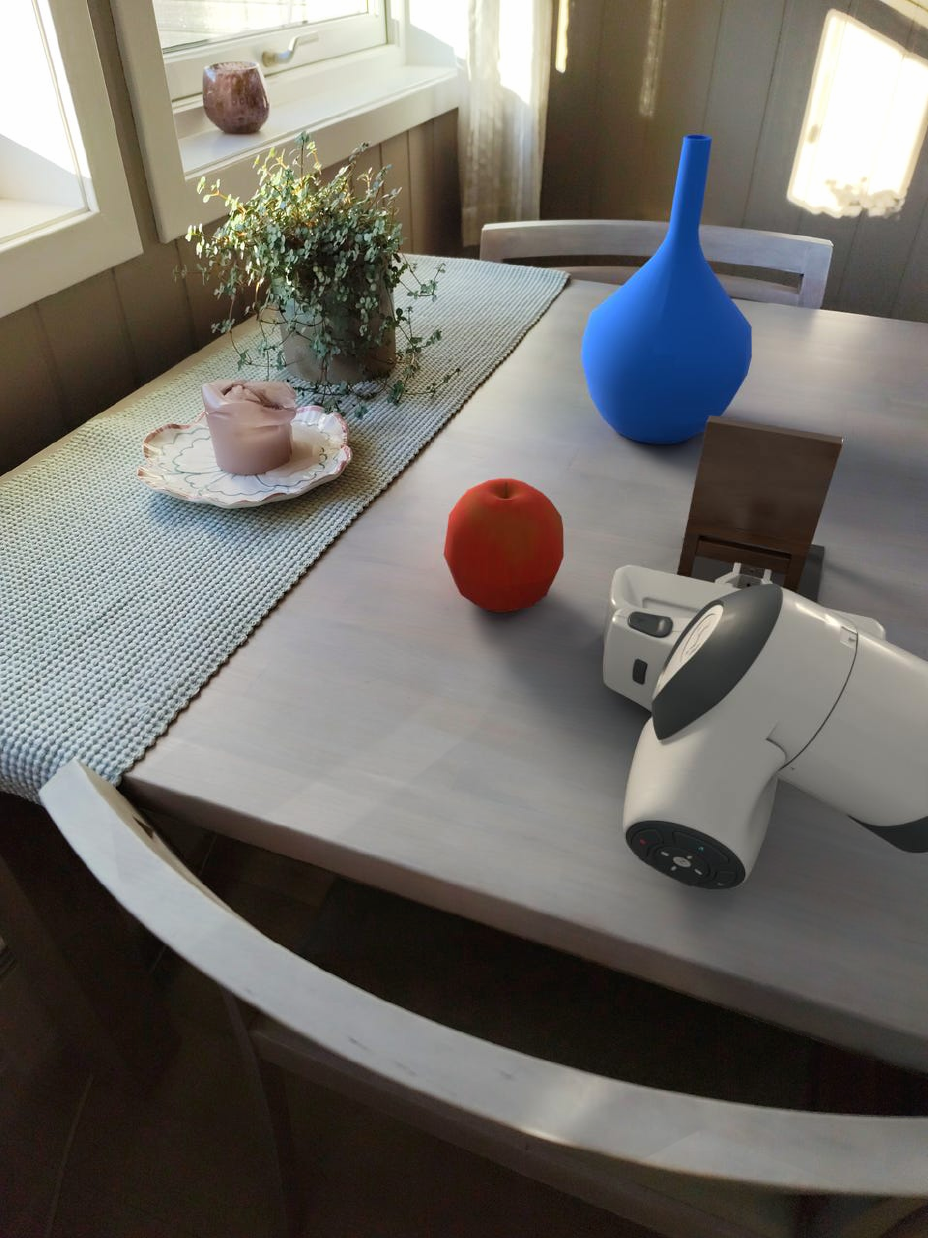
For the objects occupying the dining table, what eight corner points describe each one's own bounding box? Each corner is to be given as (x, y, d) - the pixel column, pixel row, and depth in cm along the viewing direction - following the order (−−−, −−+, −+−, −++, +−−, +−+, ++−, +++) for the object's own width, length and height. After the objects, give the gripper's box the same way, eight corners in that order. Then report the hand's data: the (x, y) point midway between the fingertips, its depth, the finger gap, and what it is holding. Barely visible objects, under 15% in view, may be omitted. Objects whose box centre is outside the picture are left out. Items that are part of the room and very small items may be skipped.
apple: (579, 616, 74) (592, 501, 67) (469, 644, 71) (470, 527, 64) (531, 552, 81) (537, 442, 74) (429, 574, 79) (426, 462, 71)
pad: (814, 623, 73) (814, 622, 73) (673, 591, 77) (673, 590, 77) (824, 547, 82) (824, 546, 82) (696, 521, 85) (697, 520, 85)
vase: (675, 380, 110) (719, 112, 91) (768, 444, 97) (842, 148, 78) (547, 406, 105) (566, 126, 85) (627, 477, 92) (670, 167, 73)
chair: (790, 610, 75) (842, 443, 64) (674, 584, 77) (706, 421, 67) (800, 547, 82) (849, 389, 71) (694, 526, 85) (726, 370, 74)
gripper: (898, 689, 56) (900, 569, 66) (590, 614, 62) (635, 515, 71) (868, 754, 60) (875, 632, 70) (582, 678, 66) (625, 576, 75)
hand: (751, 572), depth 71 cm, fingers closed
